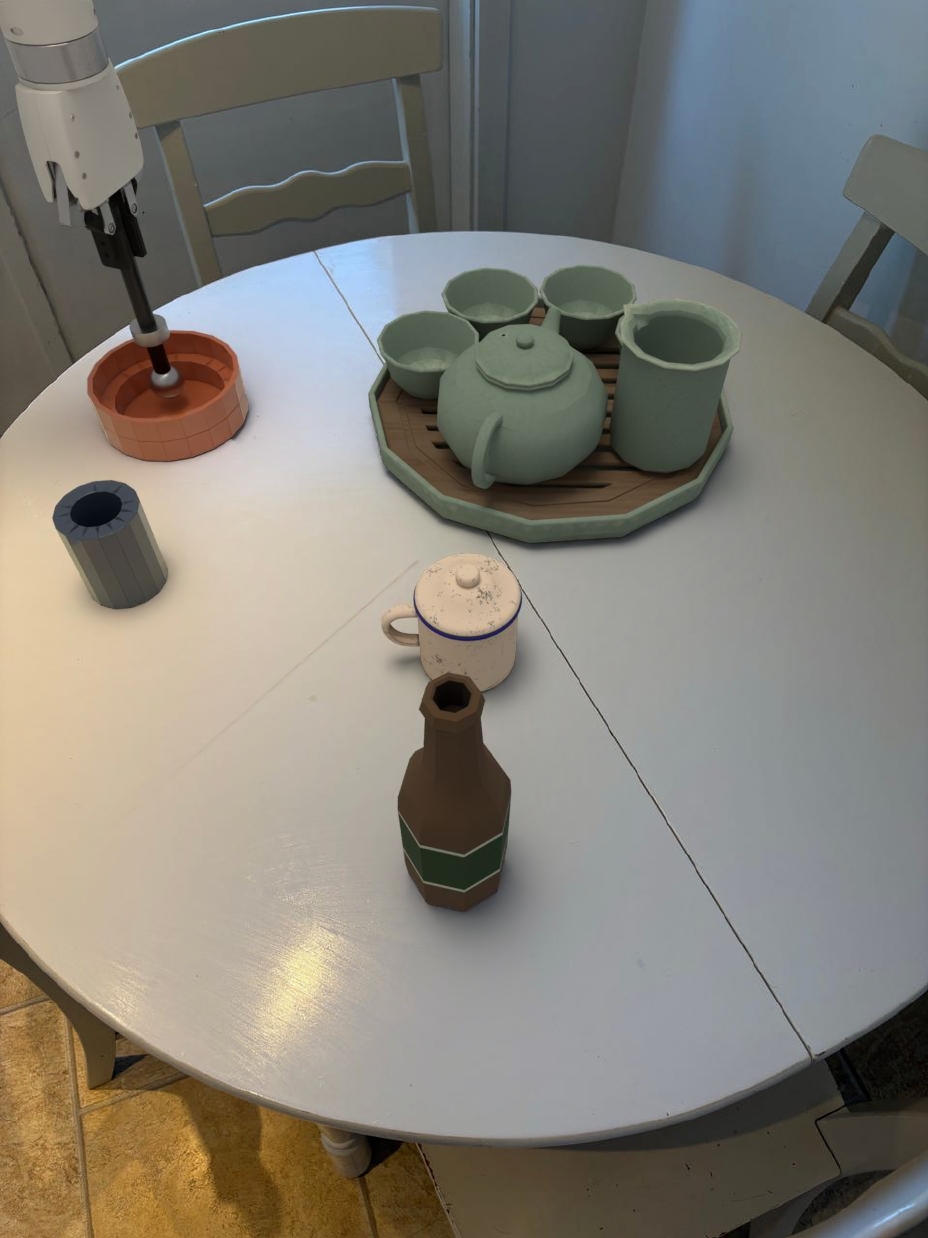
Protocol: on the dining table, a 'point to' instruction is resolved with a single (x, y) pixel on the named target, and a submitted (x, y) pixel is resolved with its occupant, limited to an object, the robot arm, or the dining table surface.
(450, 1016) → the dining table surface
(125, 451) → the bowl
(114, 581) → the crock
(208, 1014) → the dining table surface
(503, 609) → the teacup with lid
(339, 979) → the dining table surface
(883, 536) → the dining table surface
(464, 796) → the beer bottle
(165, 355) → the ball-tipped black rod
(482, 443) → the tea set
